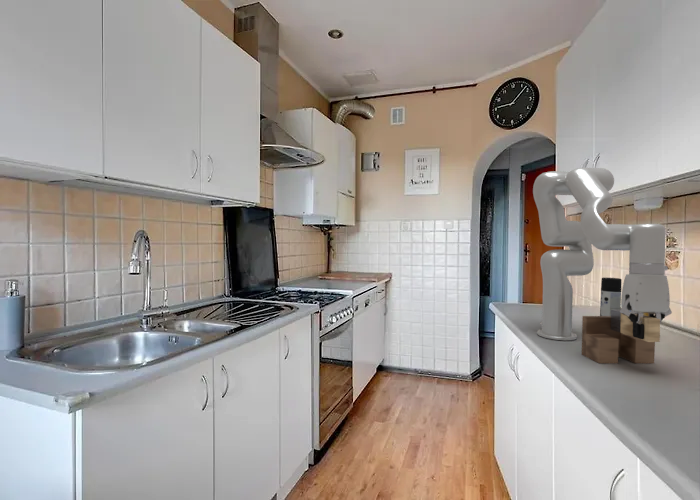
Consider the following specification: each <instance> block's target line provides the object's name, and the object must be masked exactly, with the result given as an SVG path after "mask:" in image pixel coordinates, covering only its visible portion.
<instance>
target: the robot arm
mask: <svg viewBox="0 0 700 500" xmlns="http://www.w3.org/2000/svg"><path fill="white" fill-rule="evenodd" d="M614 185H615V177H614V174H613V173H612V172H611V171H610V170H609V169H606V168H602V167H577V168H573V169H571V170H569V171H564V170H563V171H560V170H555V171H554V170H553V171H547V172H542V173H541V174H539V175H538V176H537V177H536V178H535V180H534V183H533V186H532V187H533V188H532V194H533V200H534V202H535V205H536V208H537V211H538V218H539V219H538V220H539V227H540V236H541V240H542V242H543V244H544V245H545V246H547V247H568V249H549V250H548V251H546V252H544V253H543V254H542V255H541V257H540V269H541V274H542V311H541V312H542V313H541V316H542V317H541V318H542V319H541V321H540V322H539V323H540V325H541V329H538V330H537V332H536V334H537V335H538V336H540V337H541V338H543V339H544V338H545V339H549V340H557V341H575V340H577V338H578V337H577V336H578V335H577V334H576V333H574V332H572V330H573V329H572V327H573V299H574V297H573V293H574V292H573V291H574V290H573V285H572V283H571V282H570V280H569V278H568V277H578V276H587V275H589V274H590V273H591V272H592V271H593V269H594V264H595V263H594V262H595V259H594V253H593V247H594V248H596V249H598V250H599V251H622V252H623V251H627V252H628V251H629V257H628V258H629V259H628V260H629V261H628V263H629V264H628V265H629V267H628V269H629V270H628V273H627V274H625V277H624V281H623V283H622V288H621V310H620V313H622V314H623V315H625V316H627V317H628V318H629V319H630V321H631V322H633V337H636V338H639V339H644V324H642V321H643V313H648V316H649V317H653V318H657V319H660V325H661V324H662V321H663V320H664V319H665V318H666V317H668V316H670V315H671V314H672V313H673V312H672V309H671V308H670V303H671V300H670V297H671V296H670V295H671V294H670V287H669V280H668V276H667V275H666V274H665V273H666V271H668V269H669V268H668V266H667V265H666V227H665V226H664V225H663V224H661V223H639V224H624V223H623V224H622V223H619V224H618V223H614V224H612V223H610V224H609V223H606V222H605V221H604V220H603V219H602V217H601V216H600V214H601V213H603V212H605V211H606V210H607V209H608V208H610V206H611V205H612V204H613V201H614V200H613V196H612V194H611V193H610V191H611V190H612V188H613V187H614ZM556 196H572V197H573V199H575V201H576V202H577V203H578V205H579V207H580V208H581V209H582V212H581V214H580V221H578V220H567V218H566V217H567V216H566V213H565V208H564V206H563V203H561V201H560V200H559V199H558V198H557V197H556ZM592 246H593V247H592ZM629 310H631V312H630V311H629Z"/></svg>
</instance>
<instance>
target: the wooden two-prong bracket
mask: <svg viewBox="0 0 700 500" xmlns="http://www.w3.org/2000/svg"><path fill="white" fill-rule="evenodd" d="M581 319H582V321H581V323H582V325H581V355H582V356H584V357H585V358H587V359H589V360H591V361H593V362H595V363H597V364H619V357H620V358H623V359H625V360H627V361H629V362H632V363H633V364H655V355H656V354H655V353H656V346H655V345H656V342H647V341H644V340H641V339H638V338H635V337H632V336H629V335H626V334H623V333H620V332H617V331H614V330H611V316H600V315H582V317H581Z"/></svg>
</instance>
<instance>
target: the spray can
mask: <svg viewBox="0 0 700 500" xmlns="http://www.w3.org/2000/svg"><path fill="white" fill-rule="evenodd" d="M600 284H601V285H600V304H599V305H600V307H599V309H600V310H599V316H611V310H621V308H622V307H621V298H622V286H623V283H622V278H618V277H601V283H600Z"/></svg>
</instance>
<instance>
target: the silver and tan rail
mask: <svg viewBox="0 0 700 500" xmlns="http://www.w3.org/2000/svg"><path fill="white" fill-rule="evenodd" d="M642 324H644V339H641V340H644V341H647V342H655V343H660V342H661V341H660V338H661V324H660V319H657V318H653V317H649V316H645V315H643V321H642ZM611 330H614V331H617V332H620V333H623V334H626V335H629V336H632V337H633V322H631V321H630V319H629V318H628V317H627V316H625V315H623V314H622V313H620V310H611ZM635 338H636V337H635ZM638 339H639V338H638Z"/></svg>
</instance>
